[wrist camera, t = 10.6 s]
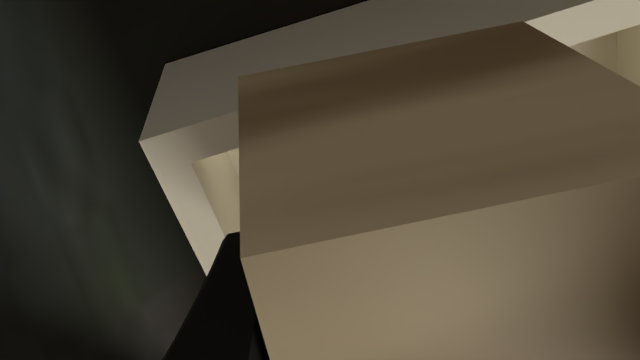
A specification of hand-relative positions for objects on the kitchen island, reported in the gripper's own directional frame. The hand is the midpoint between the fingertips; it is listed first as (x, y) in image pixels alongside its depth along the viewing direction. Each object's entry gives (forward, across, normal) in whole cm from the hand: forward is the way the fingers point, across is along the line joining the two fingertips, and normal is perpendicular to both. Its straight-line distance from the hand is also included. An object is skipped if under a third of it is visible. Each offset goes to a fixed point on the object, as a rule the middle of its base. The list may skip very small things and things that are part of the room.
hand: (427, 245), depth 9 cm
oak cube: (+2, 0, 0) cm, 2 cm away
